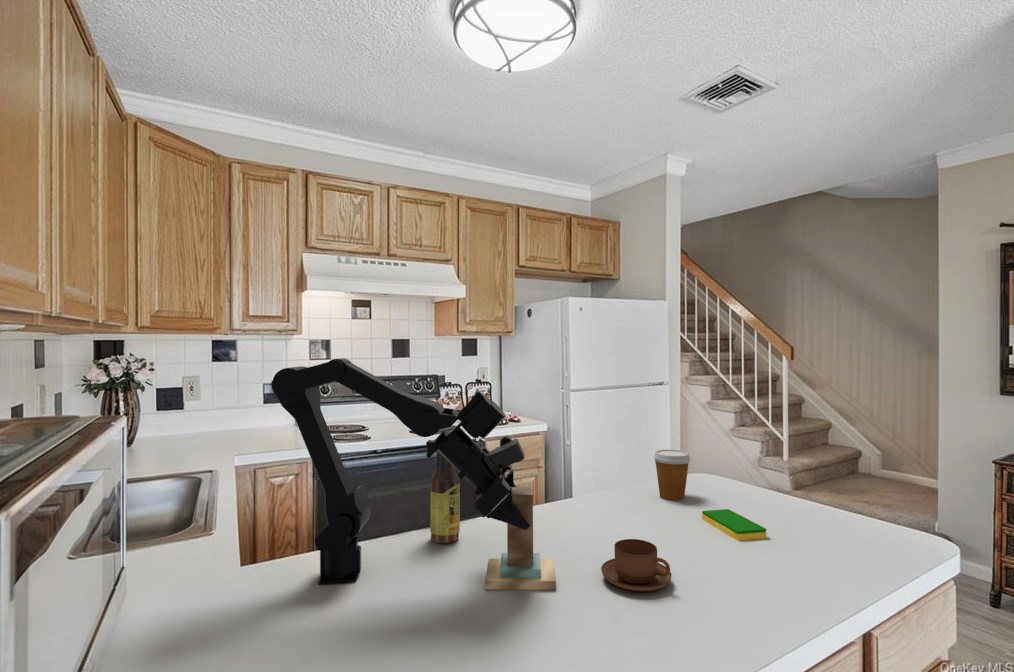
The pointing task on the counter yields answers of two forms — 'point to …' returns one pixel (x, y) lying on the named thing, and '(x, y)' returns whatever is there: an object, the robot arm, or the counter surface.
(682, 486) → the disposable coffee cup
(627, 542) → the cup and saucer
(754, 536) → the dish sponge
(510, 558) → the pillar
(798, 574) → the counter surface
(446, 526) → the sauce bottle
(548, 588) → the plinth
